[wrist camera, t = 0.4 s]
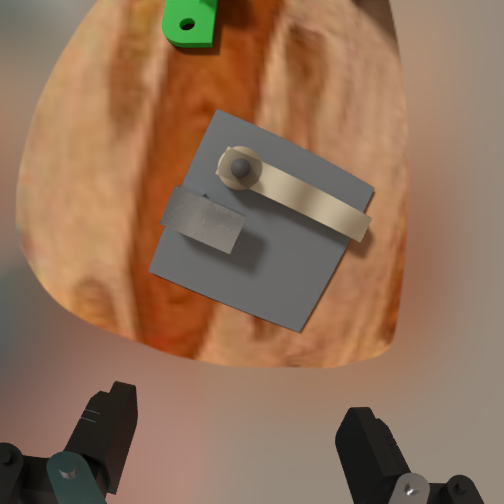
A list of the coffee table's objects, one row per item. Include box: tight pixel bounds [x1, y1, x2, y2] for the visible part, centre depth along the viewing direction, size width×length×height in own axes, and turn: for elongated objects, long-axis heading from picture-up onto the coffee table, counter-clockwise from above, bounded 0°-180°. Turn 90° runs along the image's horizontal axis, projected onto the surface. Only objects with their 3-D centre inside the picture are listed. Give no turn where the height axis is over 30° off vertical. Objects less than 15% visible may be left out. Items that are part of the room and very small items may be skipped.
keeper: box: [160, 184, 247, 254], centre depth 32 cm, size 4×8×4 cm, turn 65°
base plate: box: [149, 109, 374, 332], centre depth 35 cm, size 20×20×1 cm
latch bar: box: [215, 146, 372, 242], centre depth 31 cm, size 17×4×5 cm, turn 65°
